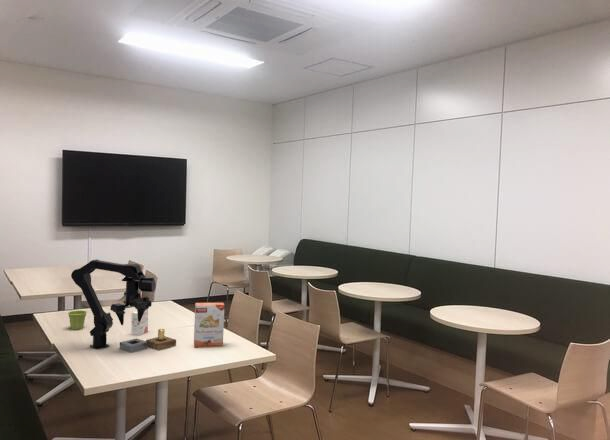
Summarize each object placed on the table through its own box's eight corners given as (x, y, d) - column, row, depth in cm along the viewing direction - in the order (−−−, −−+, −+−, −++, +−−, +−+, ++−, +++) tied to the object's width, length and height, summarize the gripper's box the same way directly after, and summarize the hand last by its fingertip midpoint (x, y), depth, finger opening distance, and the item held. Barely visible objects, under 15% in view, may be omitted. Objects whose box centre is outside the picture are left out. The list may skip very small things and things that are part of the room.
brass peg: (156, 346, 228) (156, 329, 228) (161, 344, 230) (162, 328, 230) (160, 347, 226) (160, 330, 226) (165, 345, 229) (165, 329, 228)
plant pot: (90, 326, 257) (90, 311, 257) (80, 331, 248) (80, 315, 247) (74, 325, 258) (74, 310, 258) (63, 330, 249) (63, 314, 248)
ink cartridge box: (139, 330, 253) (140, 303, 253) (148, 331, 252) (148, 304, 252) (130, 334, 245) (131, 306, 244) (139, 335, 244) (140, 307, 243)
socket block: (119, 348, 222) (119, 342, 222) (136, 344, 229) (136, 338, 229) (130, 352, 217) (131, 346, 217) (147, 348, 224) (147, 342, 224)
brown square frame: (145, 346, 227) (146, 339, 227) (163, 341, 235) (163, 335, 235) (158, 350, 221) (158, 344, 221) (175, 345, 229) (176, 339, 229)
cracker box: (194, 348, 227) (195, 305, 226) (193, 344, 233) (194, 302, 232) (223, 346, 231) (224, 304, 230) (222, 343, 237) (223, 301, 236)
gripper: (124, 296, 210) (123, 330, 211) (159, 291, 226) (157, 323, 226) (110, 292, 217) (109, 325, 217) (145, 287, 232) (143, 318, 233)
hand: (130, 323), depth 223 cm, fingers open, 9 cm apart
